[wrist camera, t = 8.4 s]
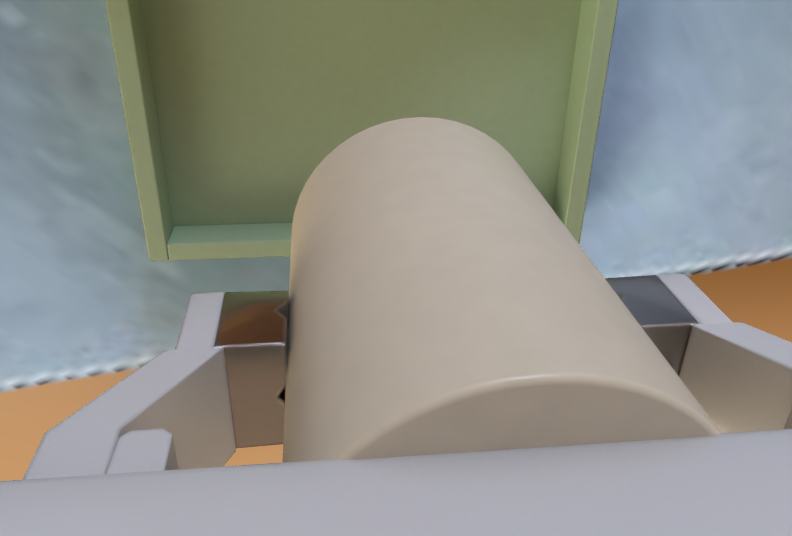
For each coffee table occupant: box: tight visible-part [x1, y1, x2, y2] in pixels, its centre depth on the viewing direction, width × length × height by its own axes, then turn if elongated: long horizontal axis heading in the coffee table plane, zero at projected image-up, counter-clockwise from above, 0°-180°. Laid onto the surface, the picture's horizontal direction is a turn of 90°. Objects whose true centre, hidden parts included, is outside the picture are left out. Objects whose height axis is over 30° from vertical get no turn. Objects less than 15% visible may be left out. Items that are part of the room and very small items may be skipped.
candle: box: [283, 117, 721, 463], centre depth 11 cm, size 5×5×8 cm
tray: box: [105, 0, 618, 261], centre depth 28 cm, size 19×14×2 cm
